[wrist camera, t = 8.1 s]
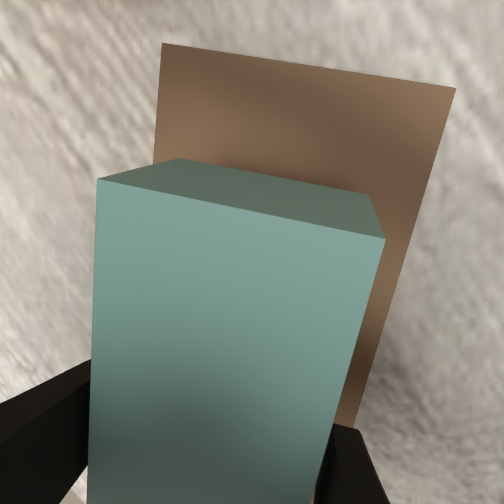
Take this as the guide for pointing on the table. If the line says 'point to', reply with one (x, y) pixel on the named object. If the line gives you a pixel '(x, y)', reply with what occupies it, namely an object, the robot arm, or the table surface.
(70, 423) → the robot arm
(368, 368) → the peg rack
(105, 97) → the table surface
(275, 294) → the teal rectangular block
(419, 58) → the table surface
